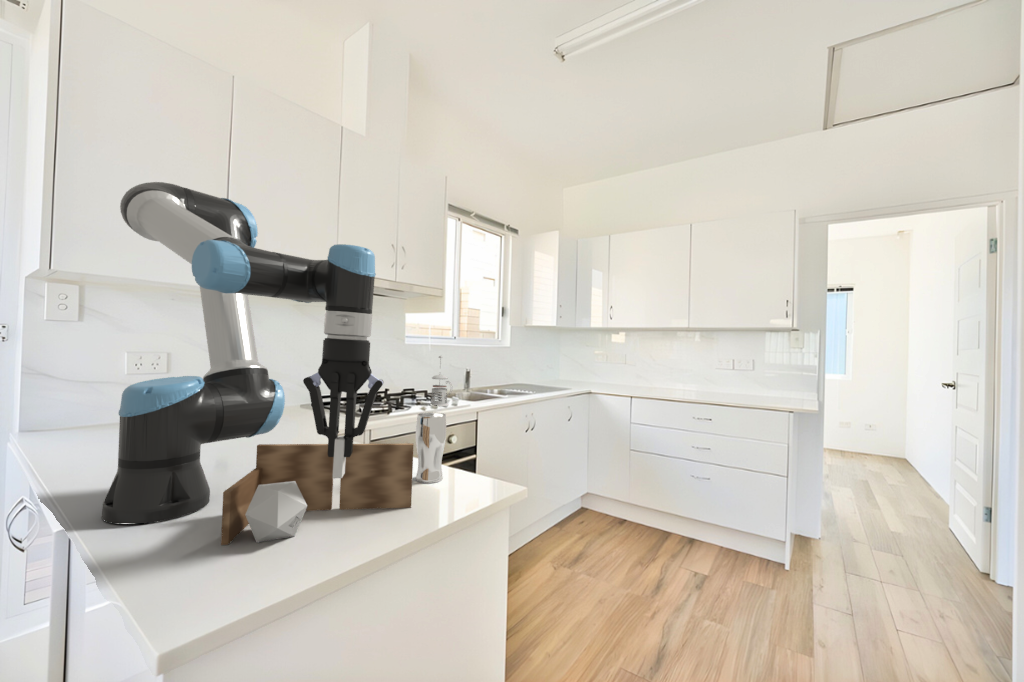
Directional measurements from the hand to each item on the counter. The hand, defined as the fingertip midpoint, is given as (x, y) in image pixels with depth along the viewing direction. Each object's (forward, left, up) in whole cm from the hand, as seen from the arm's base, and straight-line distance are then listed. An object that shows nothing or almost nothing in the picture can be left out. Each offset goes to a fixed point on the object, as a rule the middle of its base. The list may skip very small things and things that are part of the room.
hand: (338, 475), depth 76 cm
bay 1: (-9, +1, -8) cm, 12 cm away
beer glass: (+16, +24, -9) cm, 30 cm away
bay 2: (+6, +7, -8) cm, 13 cm away
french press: (+22, +147, -9) cm, 149 cm away
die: (-9, -3, -9) cm, 13 cm away
